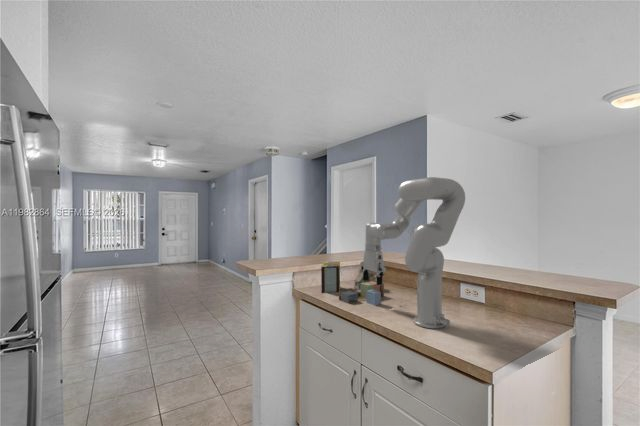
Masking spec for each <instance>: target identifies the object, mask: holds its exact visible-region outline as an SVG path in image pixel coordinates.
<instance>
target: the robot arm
mask: <svg viewBox="0 0 640 426" xmlns="http://www.w3.org/2000/svg"><path fill="white" fill-rule="evenodd" d="M397 190H398V191H397V193H398V196H399V199H398V200H397V202H396V203H395V204H394V210H395V212H396V213H397V214H398V215H397V217H396V218H395V219H394V221H392V222H390V223H389V222H386V223H385V222H384V223H379V222H368V223H366V225H365V244H364V247H365V248H364V249H365V250H364V253H363V261H361V262H359V264H360V267H361V269H362V272H363V280H364V281H365V280H368V278H369V272H368V270H369V271H373V272H375V275H377V285H381V284H382V282H383V277H384V275H385V274H386V272H387V268H386V266H384V257H383V252H382V251H383V250H382V240H393V239H394V240H395V239H397V238H399V237H400V236H401V235H402V234H403V233H404V232H405V231H406V230H407V229H408V227H409V225H410V223H411V217H412V216H413V214H414V213H415V212H416V211H417V210H418V209H419V207H420V206H421V205H423V203H424V202H425V201H427V200H435V201H436V200H437V201H442V202H441V203H440V205H439V207H437V209H436V211H435V213H434V217H433V218H432V221H431V222H430V223H423V224H421V225H419V226H418V227H417V228H416V229H415V230H414V232H413V234H412V236H411V239H410V242H409V245H408V247H407V249H406V252H405V256H404V263H405V266H406V267H407V269H408V270H409V271H411V273H417V274H418V275H417V278H416V279H417V281H416V284H417V286H416V289H417V290H416V292H417V293H416V296H417V297H416V300H417V301H416V302H417V303H416V304H417V305H416V306H417V311H416V312H417V314H416V315H417V316H416V315H415V317H414V318H413V323H414V324H415V325H417V326H419V327H422V328H426V329H442V328H445V327H449V326H450V323H451V319H449V318H446V317H445V313H443V309H442V308H443V303H442V302H443V299H442V297H443V295H442V294H443V293H442V292H443V291H442V289H443V285H442V284H443V282H442V281H443V269H444V265H445V257H444V254H443V252H442V251H441V250H440V249H439V247H440V248H441V247H444V246H446V245H447V244H448V243H449V241H450V239H451V237H452V235H453V232H454V229H455V228H456V225H457V222H458V221H459V217H460V216H461V213H462V211H463V209H464V206H465V202H466V192H465V190H464V188H463V186H462V184H461V183H459V182H458V181H456V180H454V179H451V178H444V177H435V176H434V177H432V176H431V177H424V178H423V177H421V178H415V179H408V180H405V181H403V182H401V184H400V185H399V186H398V189H397Z"/></svg>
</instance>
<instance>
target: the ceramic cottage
mask: <svg viewBox="0 0 640 426" xmlns="http://www.w3.org/2000/svg"><path fill="white" fill-rule="evenodd" d="M368 272H369V278H368V280H365V281H364V280H363V272H362V269H361V268H360V267H359V270H358V274H357V276H356V277H355V279H354V281H355V282H354V286H353V289H355V290H358V291H361V283H367V282H371V281H376V282H377V274H376V272H373V271H369V270H368ZM382 283H383V284H384V282H383V281H382Z"/></svg>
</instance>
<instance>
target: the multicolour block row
mask: <svg viewBox="0 0 640 426" xmlns="http://www.w3.org/2000/svg"><path fill="white" fill-rule="evenodd" d="M373 282H376V281H373ZM376 283H377V282H376ZM380 292H381V298H384V297H385V283H384V282H383V283H382V284H381V285H380ZM356 293H358V301H357V302H352V303H346V302H344V301H341V295H339V296H338V301H341V302H343V303H345V304H348V305H353V304H357V303H362V302H366V298H364V297H361V291H358V292H356Z"/></svg>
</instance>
